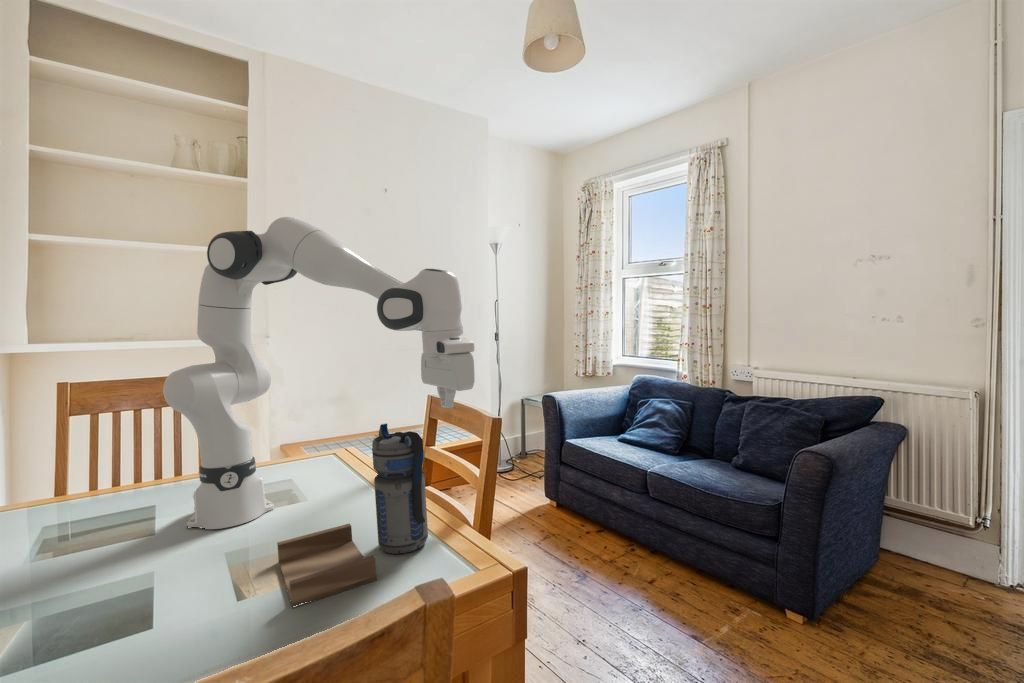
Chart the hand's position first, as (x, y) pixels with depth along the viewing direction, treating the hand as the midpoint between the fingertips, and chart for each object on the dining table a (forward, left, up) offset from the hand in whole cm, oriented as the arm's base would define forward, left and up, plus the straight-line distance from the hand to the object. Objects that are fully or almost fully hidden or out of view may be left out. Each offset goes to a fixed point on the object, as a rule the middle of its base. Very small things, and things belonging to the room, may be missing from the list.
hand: (447, 407), depth 104 cm
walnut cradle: (0, -27, -27) cm, 39 cm away
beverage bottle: (0, -11, -28) cm, 30 cm away
